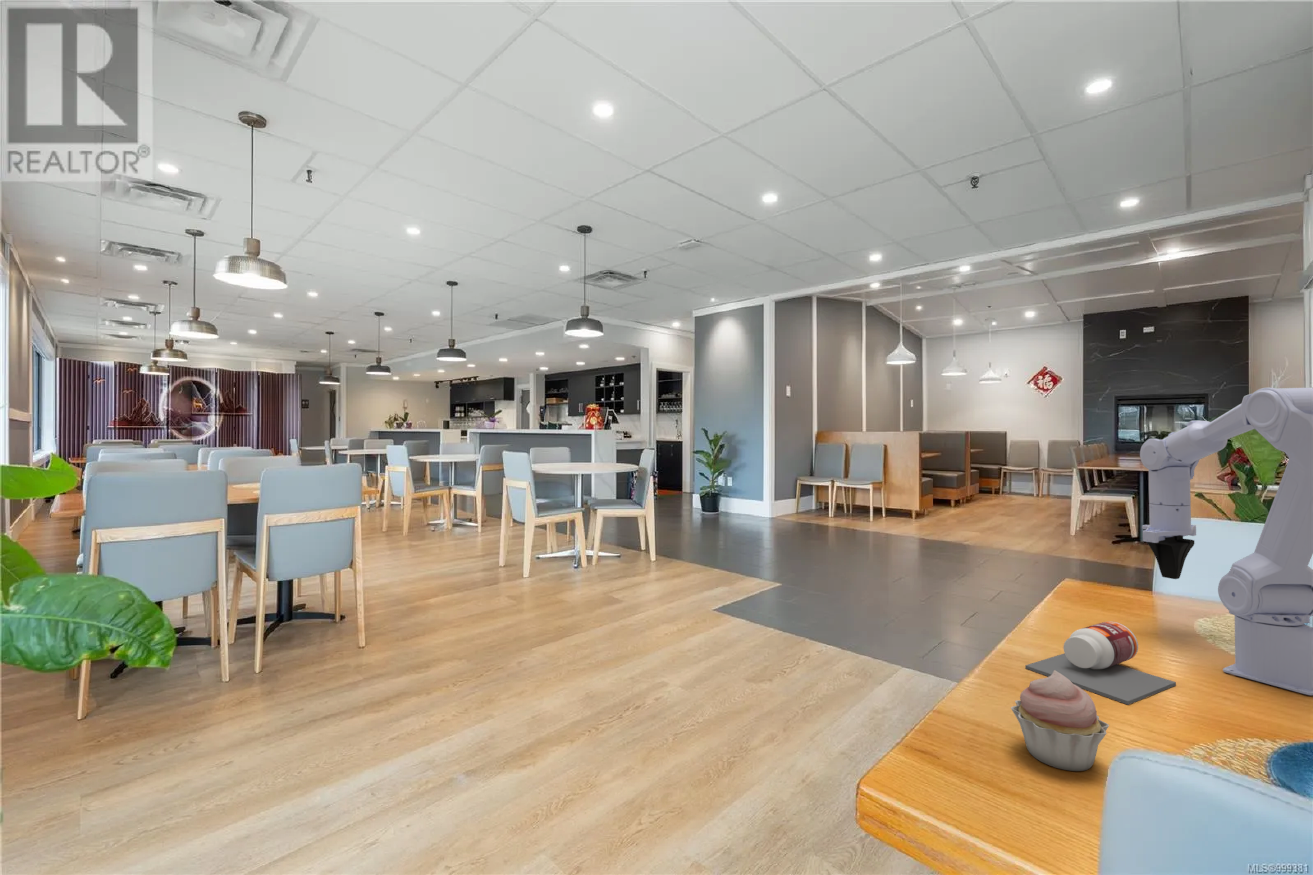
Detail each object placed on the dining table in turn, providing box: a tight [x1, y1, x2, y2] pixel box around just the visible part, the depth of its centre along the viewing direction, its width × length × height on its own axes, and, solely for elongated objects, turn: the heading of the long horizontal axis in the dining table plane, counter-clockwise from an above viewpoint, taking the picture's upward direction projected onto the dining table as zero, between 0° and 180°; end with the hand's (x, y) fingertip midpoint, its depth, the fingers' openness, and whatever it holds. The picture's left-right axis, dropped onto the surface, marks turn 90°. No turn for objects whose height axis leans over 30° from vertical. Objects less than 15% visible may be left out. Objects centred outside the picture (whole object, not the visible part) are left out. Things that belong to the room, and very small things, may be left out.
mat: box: [1024, 653, 1177, 706], centre depth 88 cm, size 14×13×1 cm
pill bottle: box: [1063, 621, 1139, 670], centre depth 91 cm, size 6×6×11 cm
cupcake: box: [1010, 670, 1110, 772], centre depth 67 cm, size 9×9×10 cm
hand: (1170, 577), depth 105 cm, fingers closed
